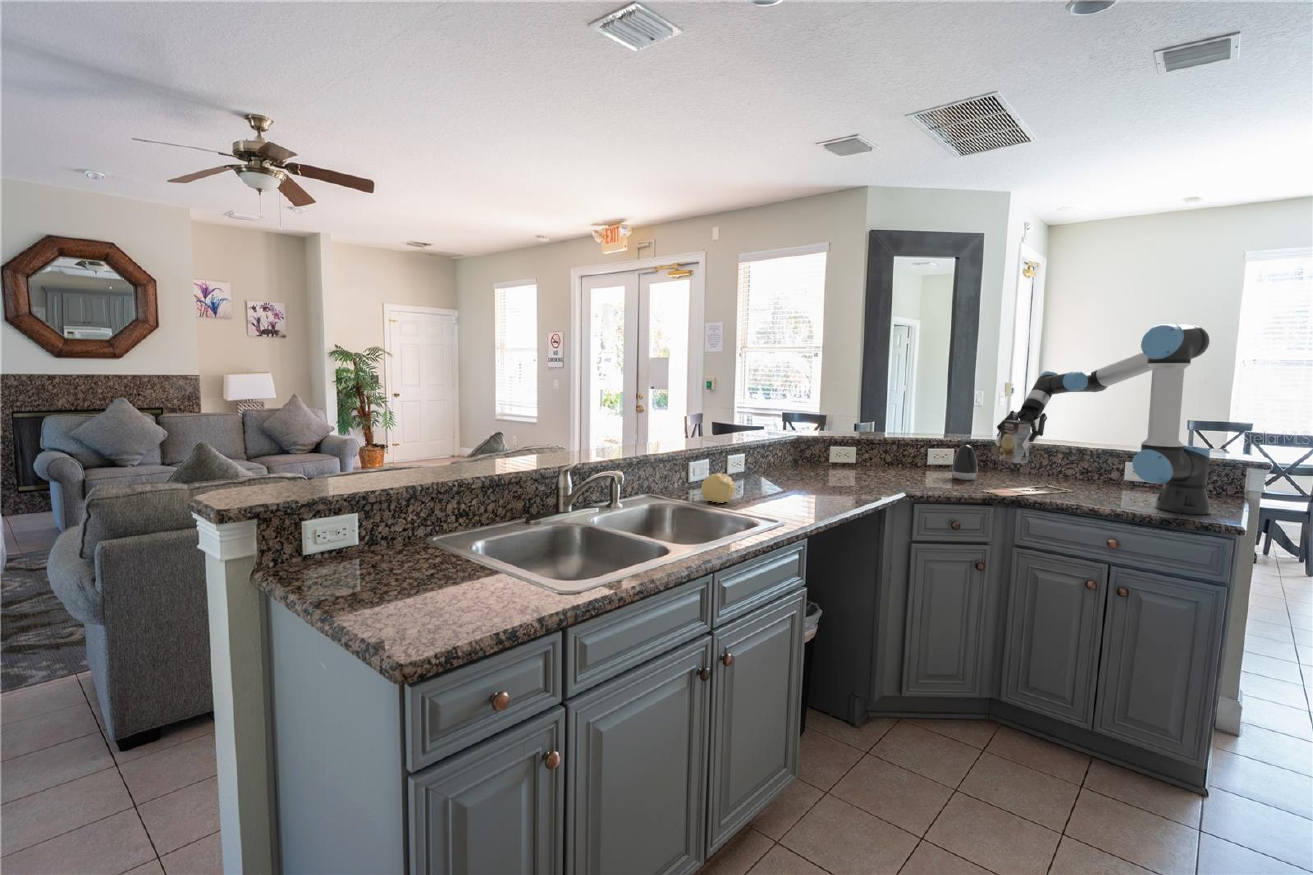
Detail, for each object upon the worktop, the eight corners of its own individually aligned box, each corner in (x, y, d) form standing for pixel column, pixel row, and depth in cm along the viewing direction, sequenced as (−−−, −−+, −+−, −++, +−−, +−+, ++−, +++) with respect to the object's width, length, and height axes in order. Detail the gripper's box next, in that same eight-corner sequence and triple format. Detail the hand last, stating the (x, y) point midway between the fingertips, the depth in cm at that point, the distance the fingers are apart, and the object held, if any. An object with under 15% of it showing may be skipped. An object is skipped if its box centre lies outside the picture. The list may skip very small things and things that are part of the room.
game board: (1073, 492, 262) (1073, 490, 262) (1005, 497, 250) (1005, 495, 250) (1047, 486, 273) (1047, 485, 272) (981, 491, 261) (981, 490, 261)
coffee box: (998, 459, 264) (1000, 420, 262) (1011, 459, 265) (1014, 419, 263) (1015, 463, 255) (1017, 422, 253) (1029, 462, 256) (1032, 421, 254)
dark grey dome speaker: (972, 477, 292) (975, 443, 290) (980, 481, 282) (982, 446, 280) (948, 476, 294) (950, 443, 292) (954, 480, 284) (957, 446, 282)
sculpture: (733, 506, 230) (734, 476, 229) (699, 504, 232) (699, 474, 231) (735, 499, 241) (736, 470, 240) (702, 498, 243) (703, 469, 242)
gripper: (1067, 412, 256) (1043, 455, 250) (1010, 408, 275) (986, 448, 269) (1061, 399, 252) (1036, 442, 246) (1004, 395, 271) (979, 436, 265)
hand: (1010, 445), depth 257 cm, fingers closed on coffee box, 10 cm apart
